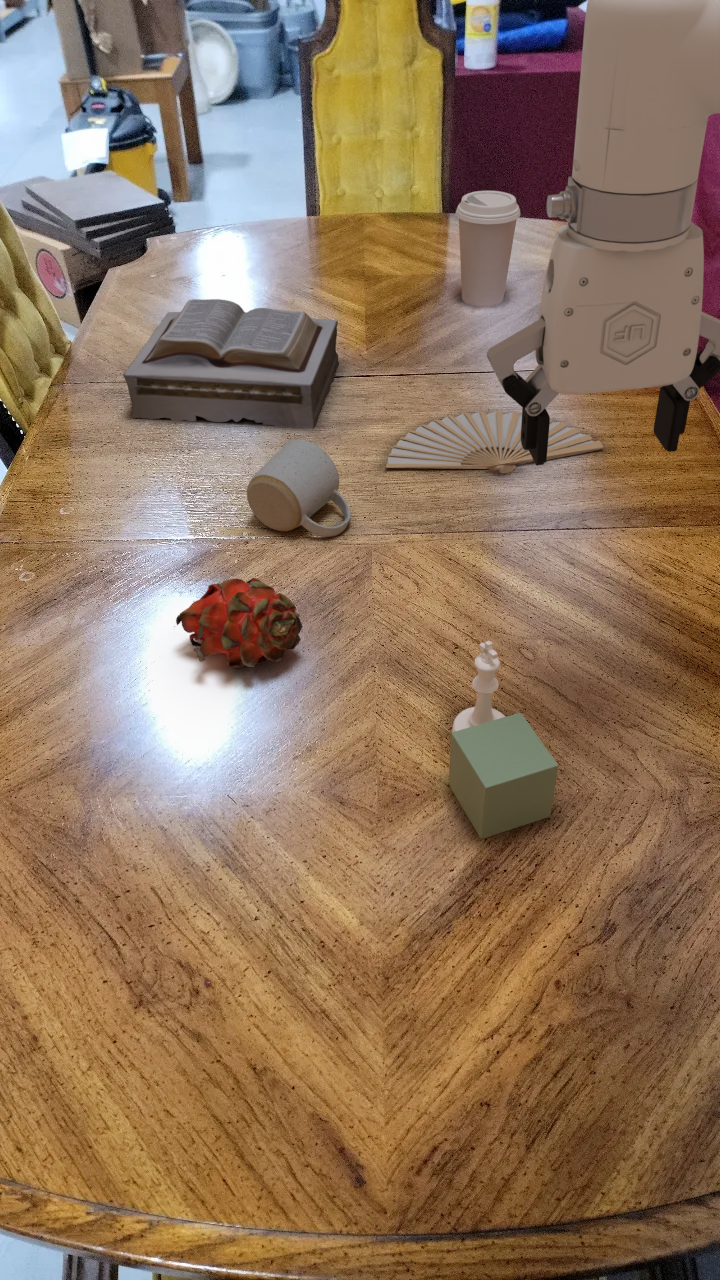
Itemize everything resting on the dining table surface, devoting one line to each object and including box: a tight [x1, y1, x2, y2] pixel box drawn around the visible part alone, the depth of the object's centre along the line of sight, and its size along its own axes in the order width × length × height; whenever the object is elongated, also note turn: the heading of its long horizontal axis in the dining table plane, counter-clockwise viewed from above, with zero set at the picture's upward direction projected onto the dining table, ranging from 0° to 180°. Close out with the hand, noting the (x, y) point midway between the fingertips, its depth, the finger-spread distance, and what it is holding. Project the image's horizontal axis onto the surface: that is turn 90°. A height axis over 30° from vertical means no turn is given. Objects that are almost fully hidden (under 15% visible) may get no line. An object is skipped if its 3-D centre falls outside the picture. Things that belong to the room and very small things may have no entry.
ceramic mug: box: [246, 438, 352, 538], centre depth 107 cm, size 11×8×8 cm
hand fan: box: [385, 410, 605, 475], centre depth 120 cm, size 26×1×15 cm
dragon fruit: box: [173, 577, 304, 670], centre depth 90 cm, size 8×8×12 cm
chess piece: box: [451, 640, 506, 733], centre depth 81 cm, size 5×5×10 cm
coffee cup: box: [455, 190, 521, 308], centre depth 150 cm, size 10×10×15 cm
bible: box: [123, 298, 340, 430], centre depth 130 cm, size 23×27×10 cm
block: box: [448, 712, 559, 840], centre depth 76 cm, size 6×6×6 cm
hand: (600, 449), depth 73 cm, fingers open, 9 cm apart
